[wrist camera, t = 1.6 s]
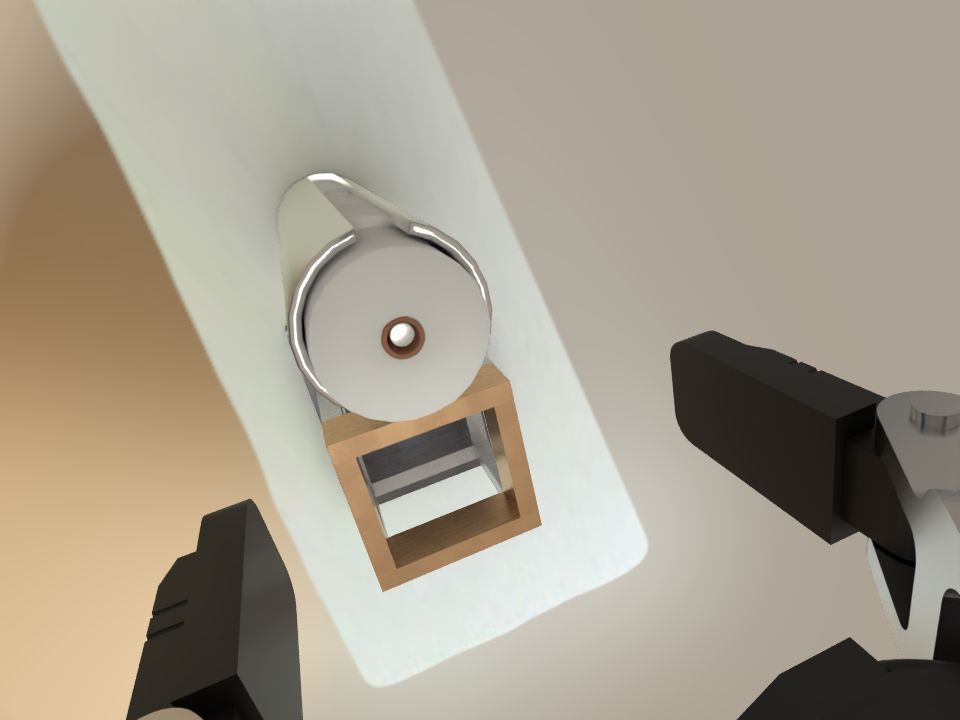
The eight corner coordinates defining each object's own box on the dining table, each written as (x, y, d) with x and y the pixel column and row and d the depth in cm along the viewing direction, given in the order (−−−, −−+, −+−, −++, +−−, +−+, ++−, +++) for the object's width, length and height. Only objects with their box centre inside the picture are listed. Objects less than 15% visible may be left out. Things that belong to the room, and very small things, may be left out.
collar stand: (285, 327, 41) (292, 406, 29) (446, 277, 44) (513, 330, 32) (354, 506, 48) (383, 630, 36) (490, 454, 50) (560, 553, 38)
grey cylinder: (390, 198, 40) (537, 274, 18) (355, 284, 42) (453, 454, 20) (297, 155, 38) (338, 185, 16) (262, 249, 39) (255, 400, 17)
